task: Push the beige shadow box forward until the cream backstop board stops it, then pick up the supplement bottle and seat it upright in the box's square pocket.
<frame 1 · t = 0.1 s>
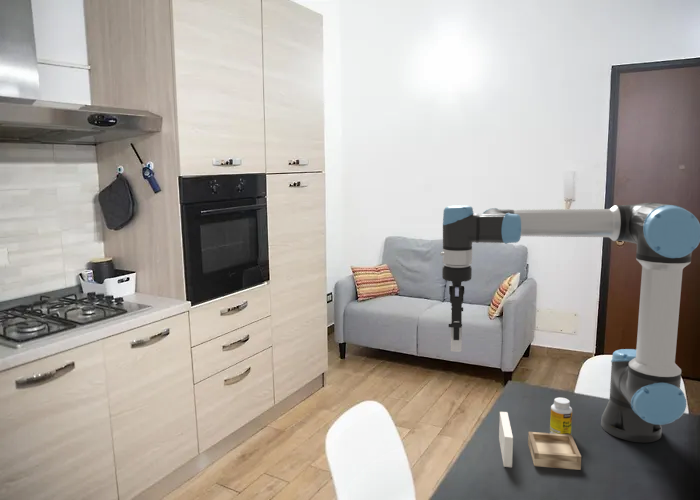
hand: (455, 342, 144), 28 cm above the table, fingers open, 13 cm apart
supplement bottle: (560, 435, 150), on the table
backstop: (505, 452, 141), on the table
beige shadow box: (553, 449, 139), point 2 cm above the table, slide at 0.0 cm
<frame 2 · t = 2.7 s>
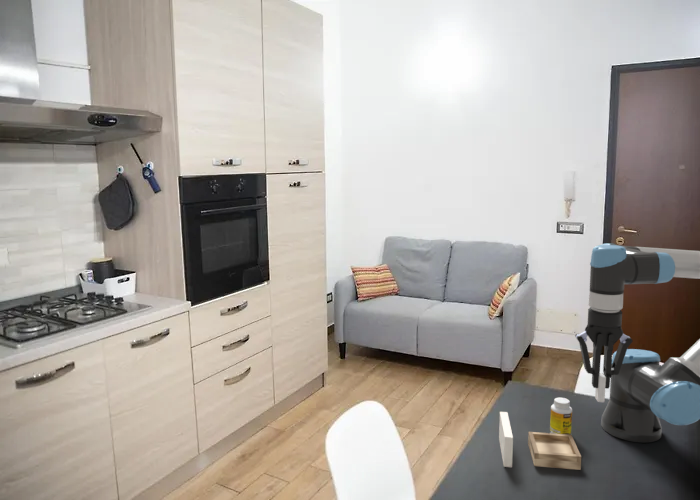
hand: (599, 399, 134), 16 cm above the table, fingers closed
nothing on the table moved.
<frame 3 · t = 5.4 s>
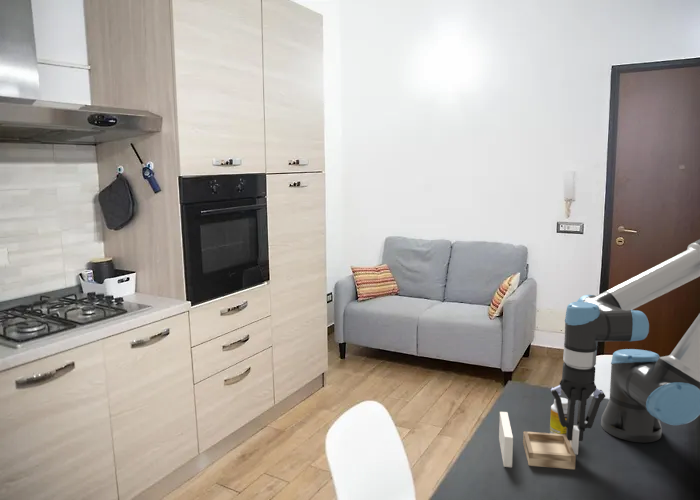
hand: (573, 451, 138), 2 cm above the table, fingers closed
beige shadow box: (548, 449, 139), point 2 cm above the table, slide at 1.3 cm, touching gripper
everything else where it was.
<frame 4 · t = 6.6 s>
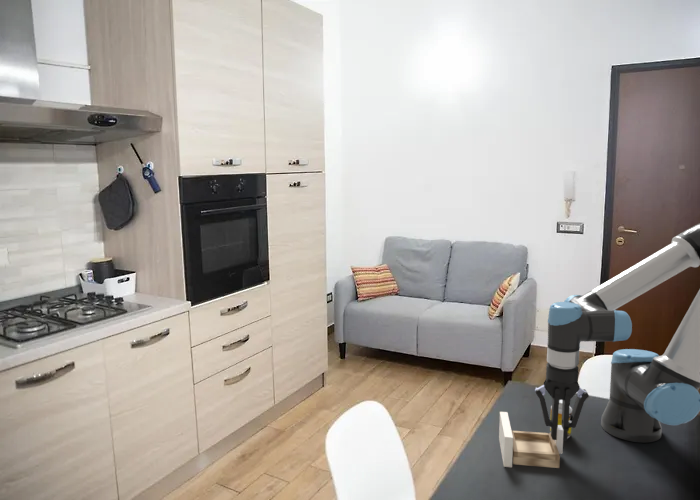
hand: (558, 450, 138), 2 cm above the table, fingers closed
beige shadow box: (533, 448, 140), point 2 cm above the table, slide at 5.0 cm, touching gripper
everything else where it was.
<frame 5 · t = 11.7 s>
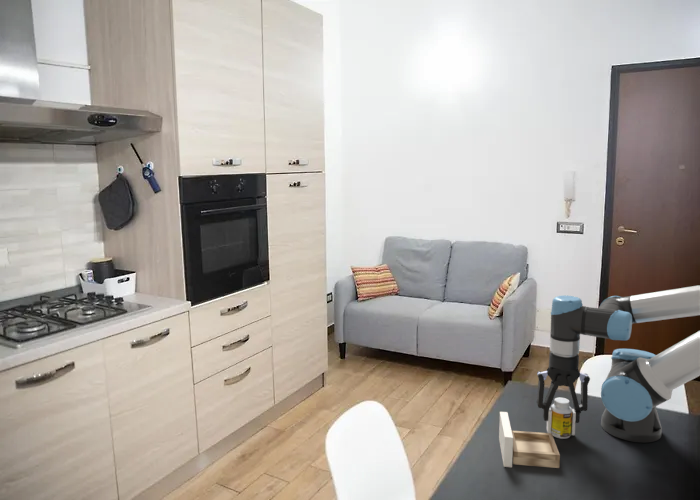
hand: (560, 431, 150), 1 cm above the table, fingers closed on supplement bottle, 6 cm apart
supplement bottle: (560, 435, 150), on the table, touching gripper
beige shadow box: (533, 448, 140), point 2 cm above the table, slide at 5.0 cm
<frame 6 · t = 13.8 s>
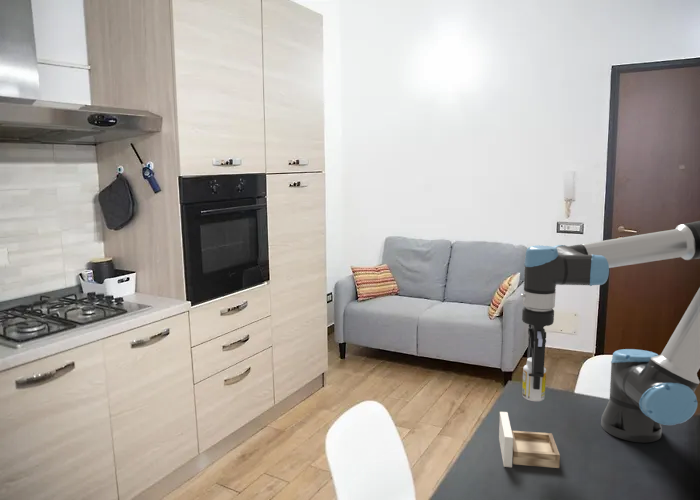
hand: (533, 394, 138), 16 cm above the table, fingers closed on supplement bottle, 6 cm apart
supplement bottle: (533, 398, 138), point 15 cm above the table, touching gripper
everything else where it was.
when the fingers open (4 cm above the table, at t = 16.4 s): supplement bottle drops 1 cm, resting on beige shadow box.
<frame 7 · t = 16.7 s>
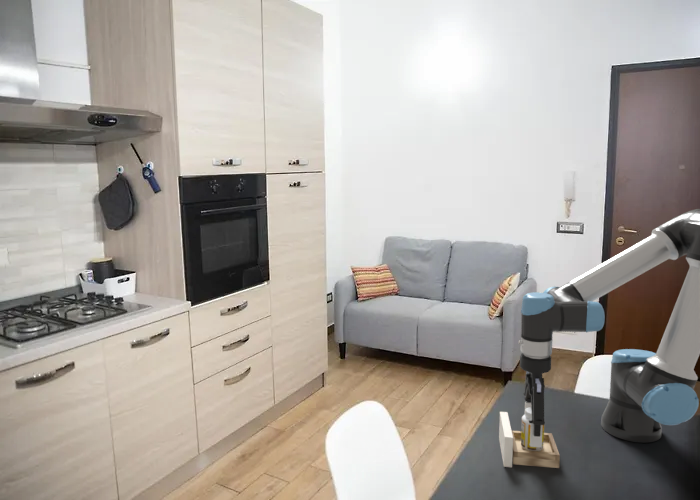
hand: (532, 435, 139), 5 cm above the table, fingers open, 10 cm apart
supplement bottle: (531, 448, 140), point 2 cm above the table, touching beige shadow box
beige shadow box: (533, 448, 140), point 2 cm above the table, slide at 5.0 cm, touching supplement bottle
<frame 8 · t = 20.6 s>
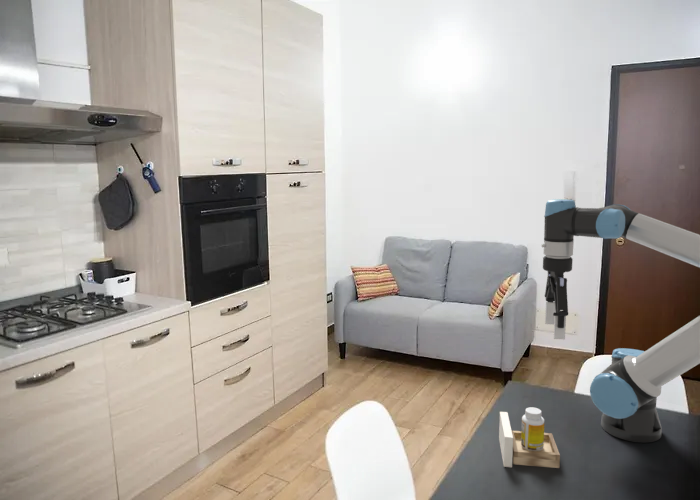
hand: (554, 331, 150), 29 cm above the table, fingers open, 13 cm apart
nothing on the table moved.
at the end: beige shadow box slide at 5.0 cm; supplement bottle 0.3 cm off-centre on the beige shadow box, point 1.8 cm above the beige shadow box's base; supplement bottle tilted 0° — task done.
